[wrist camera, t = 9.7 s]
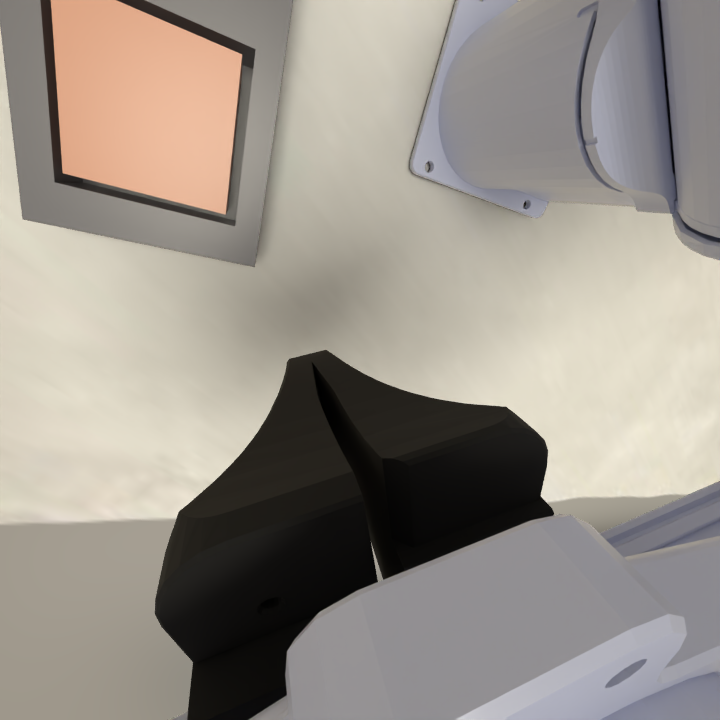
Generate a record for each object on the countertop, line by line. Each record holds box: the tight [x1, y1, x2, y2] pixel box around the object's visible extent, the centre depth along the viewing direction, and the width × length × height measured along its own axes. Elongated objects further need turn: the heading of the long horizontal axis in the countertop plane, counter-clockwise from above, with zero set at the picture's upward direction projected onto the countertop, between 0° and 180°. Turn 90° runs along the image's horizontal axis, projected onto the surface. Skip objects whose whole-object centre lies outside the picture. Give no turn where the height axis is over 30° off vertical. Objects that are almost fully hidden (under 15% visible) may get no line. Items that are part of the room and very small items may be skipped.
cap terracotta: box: [51, 0, 242, 215], centre depth 13 cm, size 5×5×2 cm
